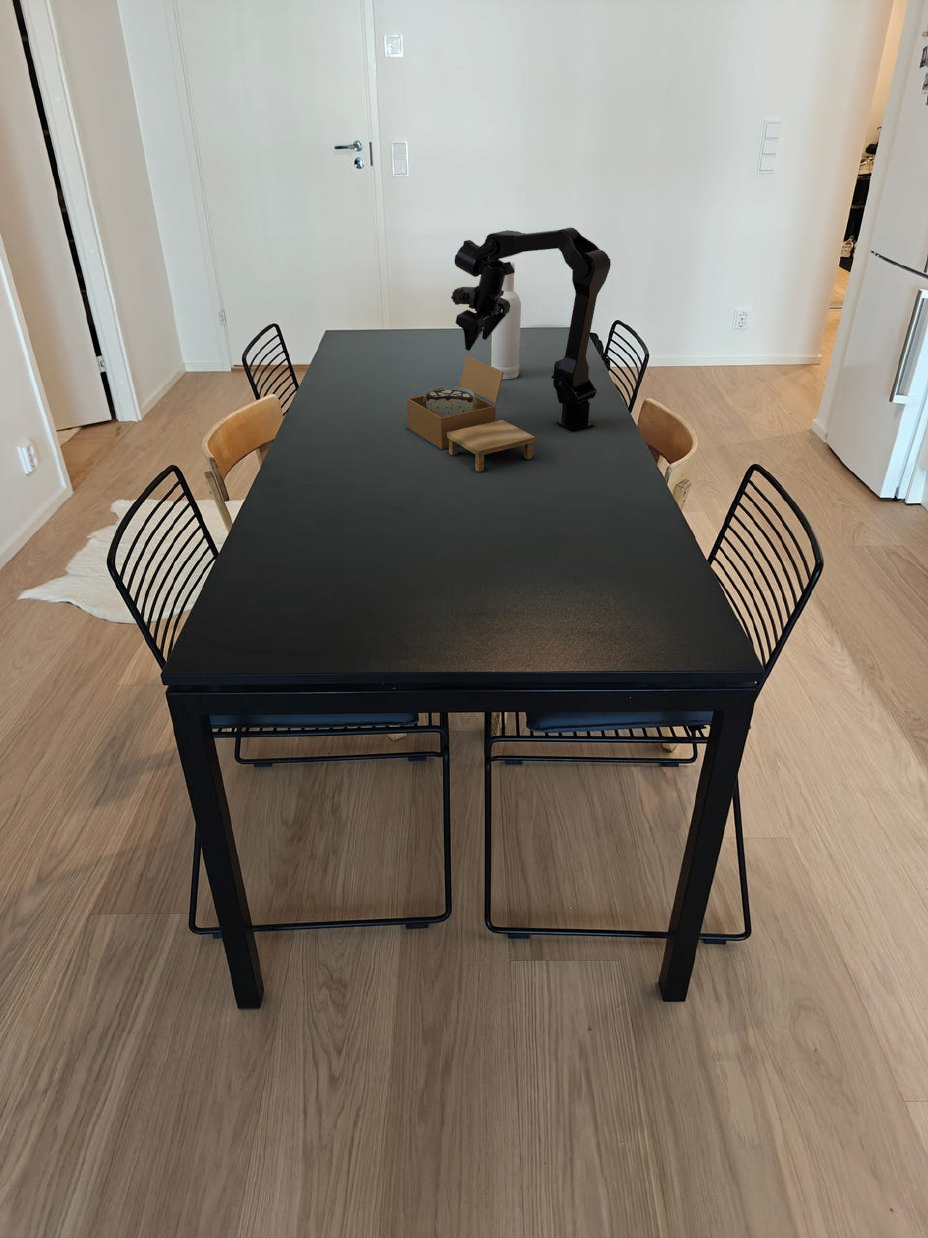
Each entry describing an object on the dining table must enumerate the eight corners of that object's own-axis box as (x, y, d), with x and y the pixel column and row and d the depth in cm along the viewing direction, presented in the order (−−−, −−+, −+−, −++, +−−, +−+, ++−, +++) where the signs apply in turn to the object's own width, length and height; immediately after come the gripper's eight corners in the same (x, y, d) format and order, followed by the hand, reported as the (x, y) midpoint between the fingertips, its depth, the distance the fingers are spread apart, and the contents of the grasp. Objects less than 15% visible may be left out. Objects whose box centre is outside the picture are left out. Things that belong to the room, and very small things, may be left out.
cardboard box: (460, 417, 209) (460, 387, 205) (495, 436, 198) (495, 406, 194) (408, 428, 203) (407, 398, 199) (441, 449, 192) (441, 418, 188)
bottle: (516, 380, 234) (520, 265, 217) (488, 378, 235) (490, 264, 218) (520, 371, 240) (524, 259, 224) (493, 370, 242) (495, 258, 225)
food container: (478, 427, 202) (478, 386, 197) (475, 436, 197) (476, 394, 192) (427, 425, 203) (426, 384, 198) (424, 434, 198) (422, 393, 193)
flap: (459, 385, 205) (460, 385, 205) (495, 403, 194) (496, 403, 194) (466, 355, 202) (467, 355, 202) (502, 371, 191) (504, 371, 191)
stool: (534, 458, 187) (535, 437, 184) (478, 472, 180) (478, 450, 178) (501, 440, 196) (502, 419, 194) (447, 453, 190) (446, 432, 187)
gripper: (479, 263, 211) (466, 321, 221) (443, 281, 198) (430, 342, 208) (518, 280, 208) (502, 338, 219) (484, 300, 195) (469, 361, 206)
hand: (475, 344), depth 213 cm, fingers open, 9 cm apart
